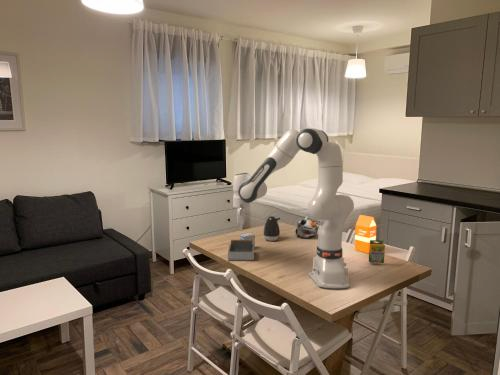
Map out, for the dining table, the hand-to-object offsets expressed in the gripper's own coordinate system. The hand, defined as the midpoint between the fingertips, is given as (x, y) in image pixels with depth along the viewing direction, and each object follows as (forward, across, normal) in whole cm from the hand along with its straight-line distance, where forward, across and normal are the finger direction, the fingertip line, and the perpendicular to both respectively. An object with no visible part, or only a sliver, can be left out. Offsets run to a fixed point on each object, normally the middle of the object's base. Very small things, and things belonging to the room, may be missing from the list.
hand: (241, 228), depth 204 cm
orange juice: (+16, +14, -71) cm, 74 cm away
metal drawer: (+16, 0, 0) cm, 16 cm away
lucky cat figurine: (+16, +40, -41) cm, 60 cm away
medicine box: (+16, +13, -3) cm, 21 cm away
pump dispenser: (+16, +32, -18) cm, 40 cm away
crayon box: (+16, -7, -71) cm, 73 cm away
